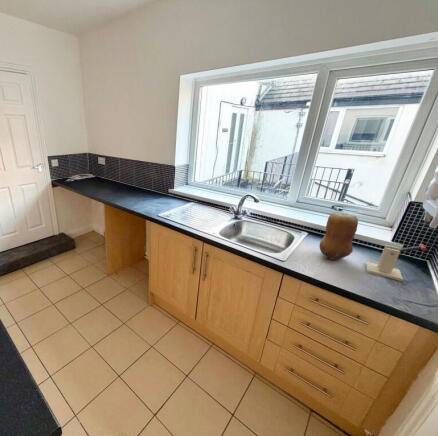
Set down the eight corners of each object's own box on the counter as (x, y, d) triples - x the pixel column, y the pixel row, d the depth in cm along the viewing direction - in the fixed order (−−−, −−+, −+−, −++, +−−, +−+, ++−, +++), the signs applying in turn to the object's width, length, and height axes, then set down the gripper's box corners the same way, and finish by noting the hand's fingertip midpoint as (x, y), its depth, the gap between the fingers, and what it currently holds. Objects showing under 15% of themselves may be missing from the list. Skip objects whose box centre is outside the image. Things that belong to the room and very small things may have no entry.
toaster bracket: (398, 271, 116) (408, 247, 111) (402, 281, 108) (413, 256, 104) (365, 263, 122) (374, 240, 118) (367, 272, 115) (376, 248, 110)
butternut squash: (323, 248, 136) (337, 207, 126) (352, 259, 125) (369, 215, 116) (311, 256, 129) (324, 212, 119) (340, 268, 119) (357, 221, 109)
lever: (424, 247, 106) (422, 242, 106) (427, 251, 103) (425, 246, 103) (387, 252, 114) (385, 247, 114) (388, 256, 111) (387, 251, 111)
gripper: (465, 198, 87) (448, 233, 92) (447, 188, 103) (433, 219, 107) (439, 195, 91) (424, 229, 96) (425, 186, 106) (413, 216, 111)
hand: (429, 224), depth 102 cm, fingers open, 8 cm apart
